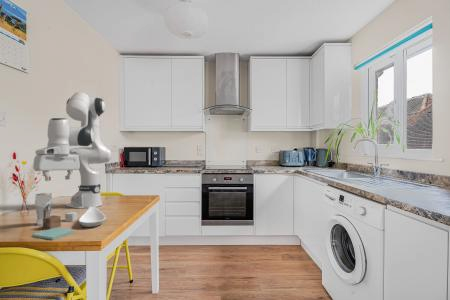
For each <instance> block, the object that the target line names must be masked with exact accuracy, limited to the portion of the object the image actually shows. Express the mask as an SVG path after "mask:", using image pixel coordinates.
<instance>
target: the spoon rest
mask: <svg viewBox="0 0 450 300" xmlns="http://www.w3.org/2000/svg"><path fill="white" fill-rule="evenodd" d="M105 220H106V215H105V214H104V213H103V212H102V211H101V210H100V209H99V208H98V206H97V207H89V208H87V210H86V211H85V212H84V213H83V214H82V215H81V216H80V217H79V218H78V223H79V224H80V225H81V226H83V227H85V228H95V227H98V226H100V225H102V224H103V223H104V221H105Z"/></svg>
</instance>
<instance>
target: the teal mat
mask: <svg viewBox="0 0 450 300" xmlns="http://www.w3.org/2000/svg"><path fill="white" fill-rule="evenodd" d="M73 233H75V230H74V229H68V228H67V229H66V228H61V227H57V228H52V229H46V230H45V229H44V230H42V231H39V232H35V233H32V237H33V238H40V239H45V240H51V241H53V240H56V239H59V238H61V237H65V236H67V235H71V234H73Z"/></svg>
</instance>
